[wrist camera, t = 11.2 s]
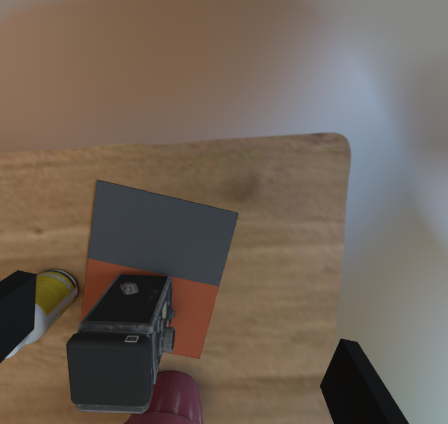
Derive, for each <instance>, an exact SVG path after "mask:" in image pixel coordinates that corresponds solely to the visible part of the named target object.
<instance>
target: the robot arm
mask: <svg viewBox="0 0 448 424" xmlns="http://www.w3.org/2000/svg"><path fill="white" fill-rule="evenodd" d="M36 280H37V274H33V273H28V272H24V271H19V270H17V271H16V272H14V273H13V274H11V275H10V276H8V277H7V278H5V279H3V280H2V281H0V363H1V362H2V361H3V360H4V359H5V358H6V357H7V356H8V355H9V354H10V353H11V352H12V351H13V350H14V349H15V348H16V347H17V346H18V345H19V344H20V343H21V342H22V341H23V340H24V339H25V338H26V337H27V336H28V335H29V334H30V333H31V332H32V331H33V330H34V326H35V303H36ZM320 388H321V390H322V393H323V396H324V398H325V401H326V404H327V407H328V409H329V412H330V415H331V417H332V420H333V423H334V424H409V423H408V421H407V420H406V418H405V417H404V415H403V414H402V412H401V410H400V409H399V407H398V406H397V404H396V402H395V401H394V399H393V398H392V396H391V394H390V393H389V391H388V390H387V388H386V387H385V385H384V383H383V382H382V380H381V379H380V377H379V375H378V374H377V372H376V371H375V369H374V367H373V366H372V364H371V363H370V361H369V359H368V358H367V356H366V355H365V353H364V352H363V350H362V348H361V347H360V345H359V344H358V342H355V341H350V340H346V339H340V342H339V344H338V346H337V348H336V351H335V353H334V355H333V358H332V360H331V362H330V364H329V367H328V369H327V371H326V373H325V376H324V378H323V380H322V383H321V385H320Z"/></svg>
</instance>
